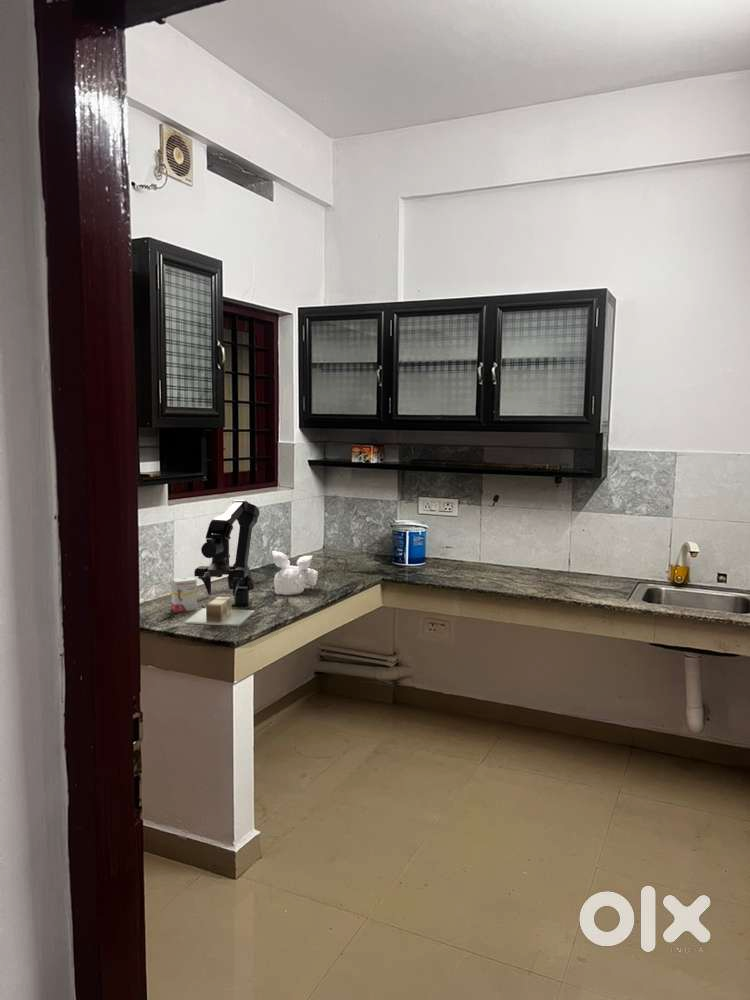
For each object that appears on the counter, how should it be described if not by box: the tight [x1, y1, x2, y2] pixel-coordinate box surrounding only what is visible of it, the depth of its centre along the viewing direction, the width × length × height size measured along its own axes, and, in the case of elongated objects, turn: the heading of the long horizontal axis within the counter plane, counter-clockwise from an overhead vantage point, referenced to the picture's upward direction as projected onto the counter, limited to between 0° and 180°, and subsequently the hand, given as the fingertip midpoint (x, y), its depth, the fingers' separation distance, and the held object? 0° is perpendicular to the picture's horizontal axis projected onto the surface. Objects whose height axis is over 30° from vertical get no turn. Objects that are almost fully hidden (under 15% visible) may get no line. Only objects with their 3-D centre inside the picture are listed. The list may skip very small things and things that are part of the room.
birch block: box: [205, 596, 232, 622], centre depth 267 cm, size 6×5×12 cm
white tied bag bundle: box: [271, 550, 319, 596], centre depth 312 cm, size 19×20×20 cm
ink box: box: [171, 576, 198, 613], centre depth 279 cm, size 9×5×12 cm, turn 120°
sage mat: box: [184, 607, 255, 627], centre depth 270 cm, size 19×20×1 cm
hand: (221, 595), depth 270 cm, fingers open, 9 cm apart
